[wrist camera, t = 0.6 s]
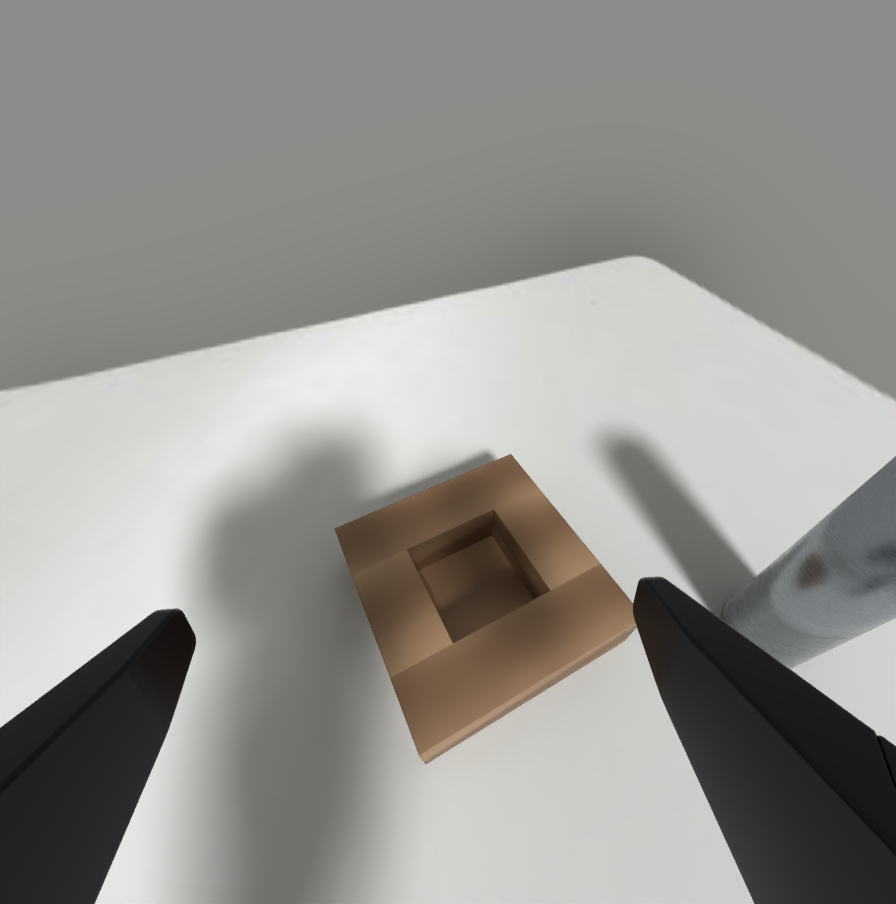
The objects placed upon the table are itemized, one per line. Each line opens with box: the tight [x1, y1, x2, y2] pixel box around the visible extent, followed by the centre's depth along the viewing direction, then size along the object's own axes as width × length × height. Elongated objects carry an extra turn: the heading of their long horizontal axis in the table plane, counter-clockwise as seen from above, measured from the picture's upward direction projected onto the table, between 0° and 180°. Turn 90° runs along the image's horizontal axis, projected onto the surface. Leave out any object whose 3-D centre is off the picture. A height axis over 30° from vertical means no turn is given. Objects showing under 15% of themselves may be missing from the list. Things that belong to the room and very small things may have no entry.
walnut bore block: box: [335, 454, 637, 764], centre depth 24 cm, size 12×12×4 cm
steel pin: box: [722, 456, 896, 669], centre depth 18 cm, size 4×4×13 cm
